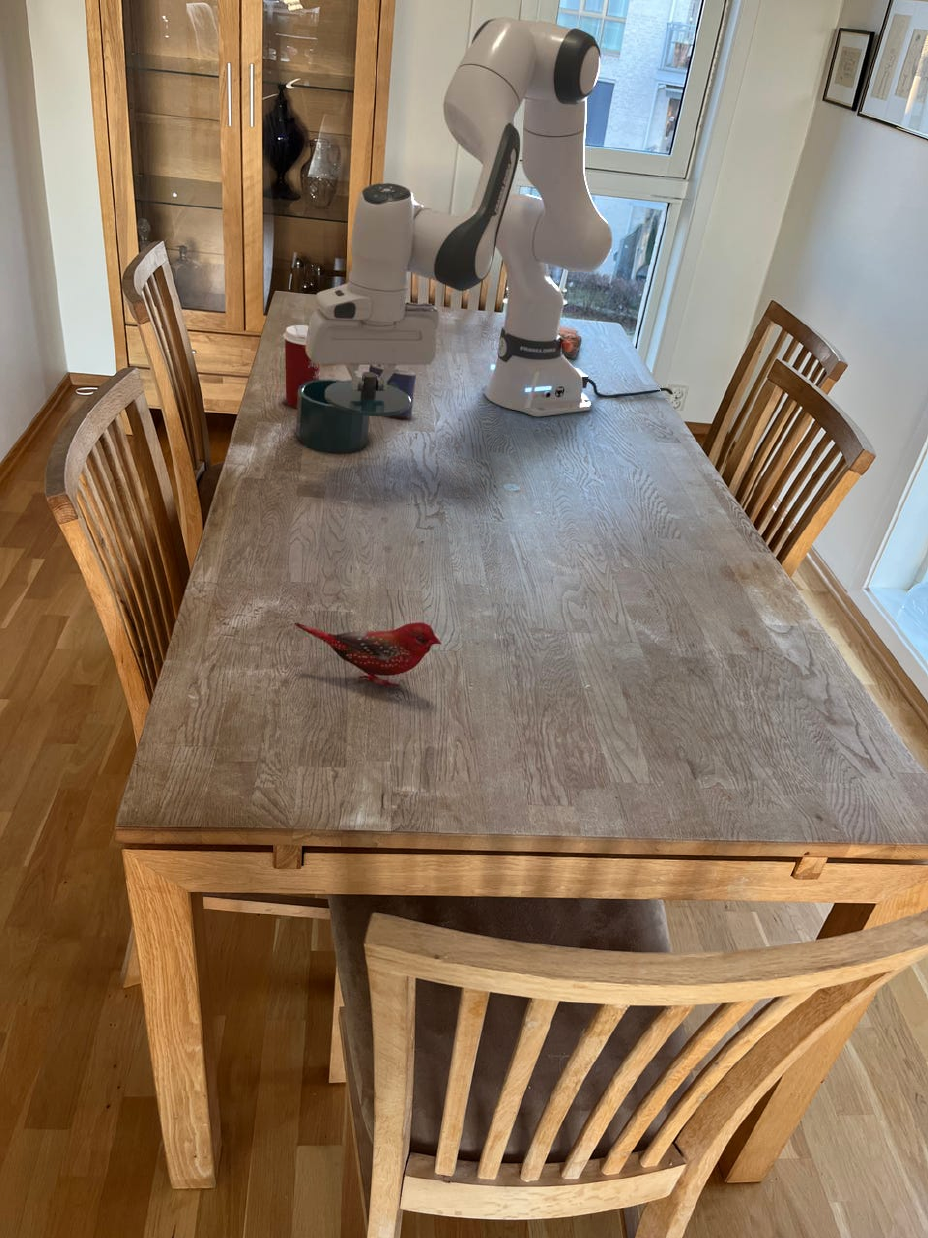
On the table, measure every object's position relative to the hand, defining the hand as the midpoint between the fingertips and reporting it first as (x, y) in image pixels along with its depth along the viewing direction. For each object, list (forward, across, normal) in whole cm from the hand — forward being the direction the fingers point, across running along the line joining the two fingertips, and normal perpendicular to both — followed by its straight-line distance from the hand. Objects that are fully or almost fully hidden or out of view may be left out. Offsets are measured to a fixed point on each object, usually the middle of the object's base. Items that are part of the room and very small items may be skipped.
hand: (368, 389), depth 155 cm
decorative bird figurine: (+16, +16, +52) cm, 57 cm away
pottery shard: (+16, -69, -65) cm, 96 cm away
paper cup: (+16, +1, -33) cm, 37 cm away
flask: (+16, -14, -27) cm, 34 cm away
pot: (+16, 0, -17) cm, 23 cm away
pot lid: (+2, 0, 0) cm, 2 cm away
